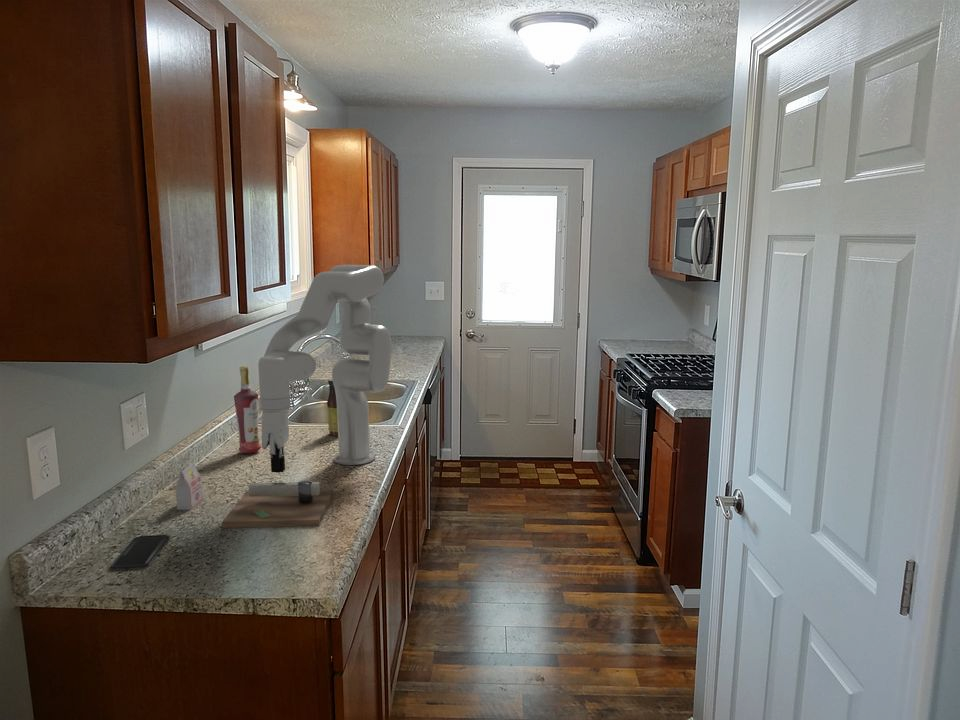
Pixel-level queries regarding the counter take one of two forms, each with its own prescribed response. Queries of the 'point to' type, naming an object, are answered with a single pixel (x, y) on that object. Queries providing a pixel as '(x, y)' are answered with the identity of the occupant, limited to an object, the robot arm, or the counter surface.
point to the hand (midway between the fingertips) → (278, 471)
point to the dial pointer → (286, 490)
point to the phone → (140, 552)
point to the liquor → (247, 415)
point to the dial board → (278, 511)
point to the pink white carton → (189, 489)
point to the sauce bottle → (332, 409)
